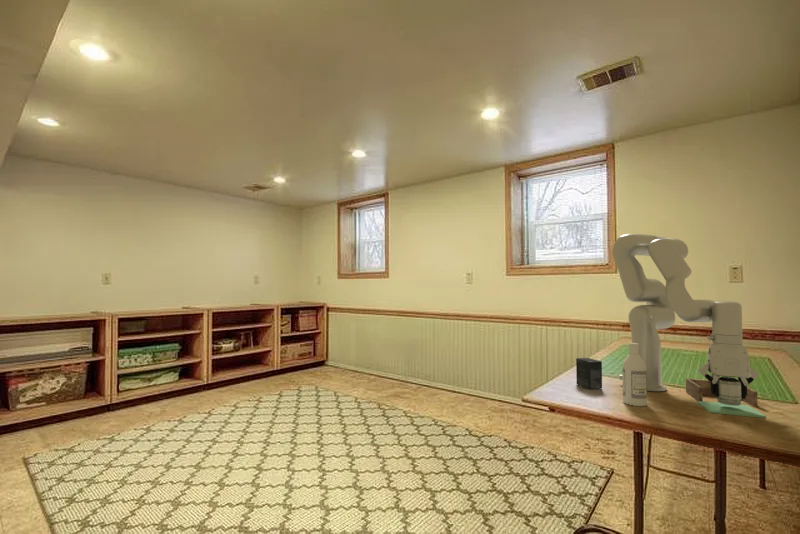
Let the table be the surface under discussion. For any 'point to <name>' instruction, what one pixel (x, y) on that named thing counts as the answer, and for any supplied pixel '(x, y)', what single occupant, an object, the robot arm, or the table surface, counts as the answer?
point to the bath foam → (634, 378)
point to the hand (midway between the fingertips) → (728, 396)
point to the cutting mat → (730, 409)
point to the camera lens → (729, 391)
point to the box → (589, 373)
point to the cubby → (703, 387)
